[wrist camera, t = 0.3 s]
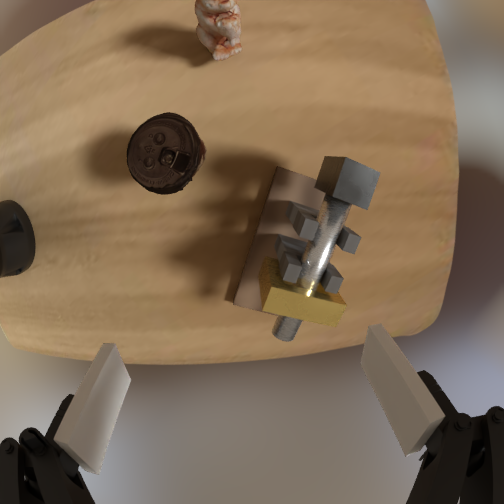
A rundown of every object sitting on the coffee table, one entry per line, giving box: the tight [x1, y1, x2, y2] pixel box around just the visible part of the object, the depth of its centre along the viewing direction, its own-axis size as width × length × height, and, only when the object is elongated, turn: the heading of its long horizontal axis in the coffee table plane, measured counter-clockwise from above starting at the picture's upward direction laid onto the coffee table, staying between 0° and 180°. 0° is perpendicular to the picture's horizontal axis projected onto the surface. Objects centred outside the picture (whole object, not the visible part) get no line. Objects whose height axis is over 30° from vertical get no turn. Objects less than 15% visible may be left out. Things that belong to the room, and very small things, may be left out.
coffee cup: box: [127, 112, 206, 194], centre depth 30 cm, size 9×8×13 cm
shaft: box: [272, 156, 380, 341], centre depth 30 cm, size 4×22×7 cm, turn 163°
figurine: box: [195, 0, 242, 61], centre depth 24 cm, size 6×8×15 cm
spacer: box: [258, 256, 347, 327], centre depth 33 cm, size 9×3×9 cm, turn 73°
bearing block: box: [233, 166, 361, 321], centre depth 36 cm, size 12×22×13 cm, turn 163°
